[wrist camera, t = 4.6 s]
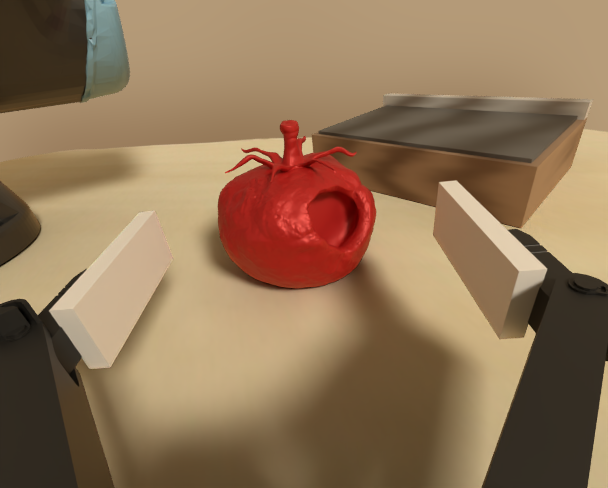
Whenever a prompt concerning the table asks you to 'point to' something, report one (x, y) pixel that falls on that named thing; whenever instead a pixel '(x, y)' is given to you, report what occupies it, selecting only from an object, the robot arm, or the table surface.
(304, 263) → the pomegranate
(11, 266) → the table surface
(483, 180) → the tray
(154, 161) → the table surface
